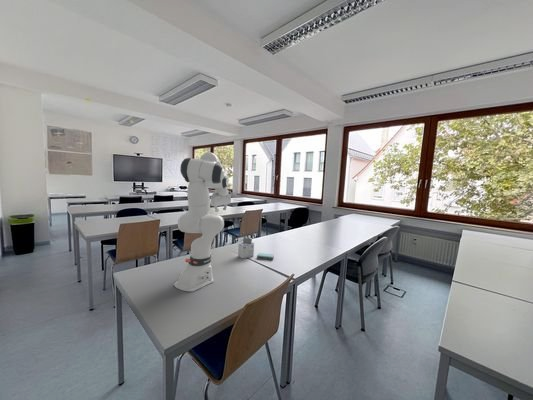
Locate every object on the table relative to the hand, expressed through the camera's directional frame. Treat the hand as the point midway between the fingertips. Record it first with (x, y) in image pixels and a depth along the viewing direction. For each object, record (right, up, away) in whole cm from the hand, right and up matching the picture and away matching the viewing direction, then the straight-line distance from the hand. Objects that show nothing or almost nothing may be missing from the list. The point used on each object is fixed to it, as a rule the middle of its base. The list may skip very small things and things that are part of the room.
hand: (220, 211), depth 164 cm
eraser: (+33, -37, +5) cm, 50 cm away
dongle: (+18, -25, +7) cm, 31 cm away
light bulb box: (+18, -36, +8) cm, 41 cm away
